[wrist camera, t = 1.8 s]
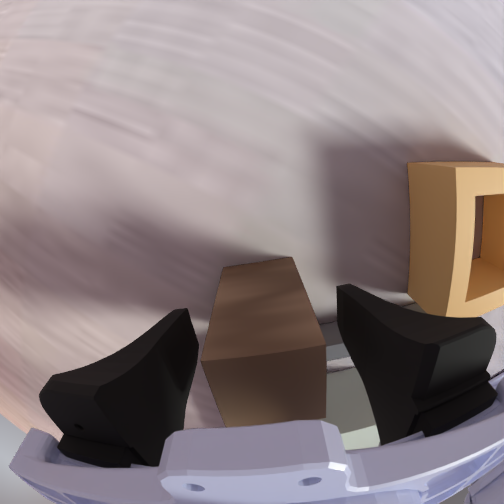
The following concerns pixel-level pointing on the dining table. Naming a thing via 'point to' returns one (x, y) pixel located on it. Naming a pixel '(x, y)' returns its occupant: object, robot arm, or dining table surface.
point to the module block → (350, 410)
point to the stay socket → (456, 237)
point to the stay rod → (265, 347)
